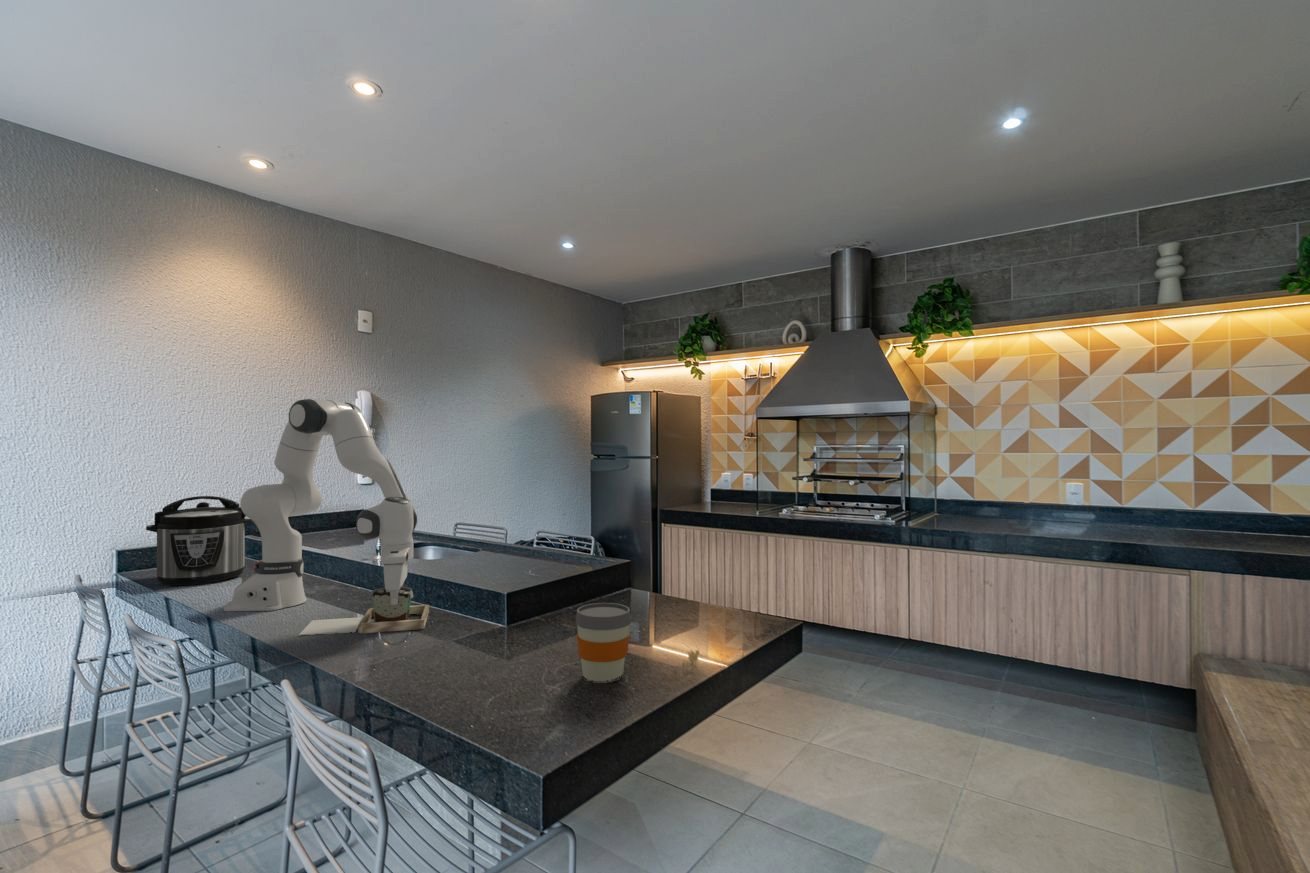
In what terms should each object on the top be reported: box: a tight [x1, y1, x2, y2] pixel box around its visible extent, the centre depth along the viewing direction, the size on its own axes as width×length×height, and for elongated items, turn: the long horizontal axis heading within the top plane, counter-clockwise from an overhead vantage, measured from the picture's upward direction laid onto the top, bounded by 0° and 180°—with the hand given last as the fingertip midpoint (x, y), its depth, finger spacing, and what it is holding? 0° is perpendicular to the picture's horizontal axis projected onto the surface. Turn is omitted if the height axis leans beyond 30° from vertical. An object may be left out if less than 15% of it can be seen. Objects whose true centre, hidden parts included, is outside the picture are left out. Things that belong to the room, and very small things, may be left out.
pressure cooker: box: [145, 495, 255, 586], centre depth 231 cm, size 30×28×32 cm
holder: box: [357, 604, 430, 634], centre depth 177 cm, size 17×17×2 cm
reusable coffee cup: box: [575, 602, 632, 681], centre depth 137 cm, size 13×13×15 cm
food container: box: [370, 586, 414, 622], centre depth 177 cm, size 12×6×10 cm, turn 84°
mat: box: [298, 616, 364, 637], centre depth 172 cm, size 14×14×1 cm
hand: (396, 600), depth 177 cm, fingers open, 8 cm apart
